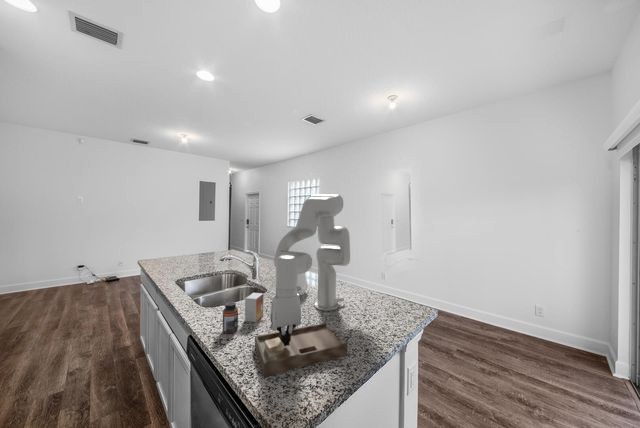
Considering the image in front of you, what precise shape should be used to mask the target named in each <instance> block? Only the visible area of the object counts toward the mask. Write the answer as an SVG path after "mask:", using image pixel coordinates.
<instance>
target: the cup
mask: <svg viewBox="0 0 640 428" xmlns="http://www.w3.org/2000/svg"><path fill="white" fill-rule="evenodd" d="M297 286H299V287H301V290H300V291H298V294H299V297H300V296H303V295H305V293H306V291H307V289H308V288H309V286H308V281H307V277H306V272H305V273H301V274H298V283H297Z"/></svg>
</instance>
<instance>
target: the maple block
mask: <svg viewBox="0 0 640 428" xmlns="http://www.w3.org/2000/svg"><path fill="white" fill-rule="evenodd" d="M265 351H266V353H267V354H268V356H269V357H272V356H275V355H279V354H282V353H284V344H283V342H282V341H281V340H280V338H279V337H278V338H274V339H270V340H266V341H265Z"/></svg>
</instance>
